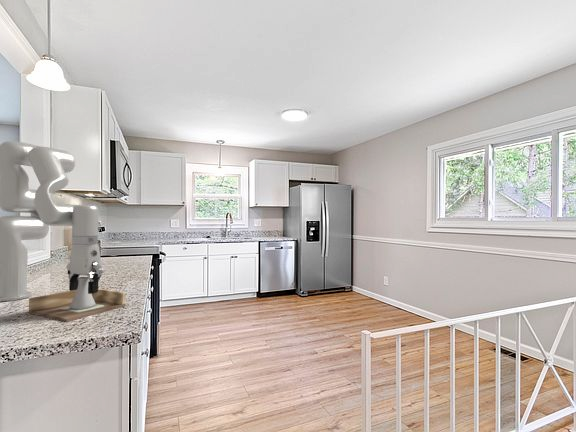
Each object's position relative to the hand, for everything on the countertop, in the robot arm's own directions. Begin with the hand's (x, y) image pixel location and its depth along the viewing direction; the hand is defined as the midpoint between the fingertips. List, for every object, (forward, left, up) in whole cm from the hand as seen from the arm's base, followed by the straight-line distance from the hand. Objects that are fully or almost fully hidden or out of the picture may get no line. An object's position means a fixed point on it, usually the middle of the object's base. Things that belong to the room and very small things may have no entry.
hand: (83, 291), depth 107 cm
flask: (0, 0, -6) cm, 6 cm away
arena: (-2, 0, -6) cm, 7 cm away
